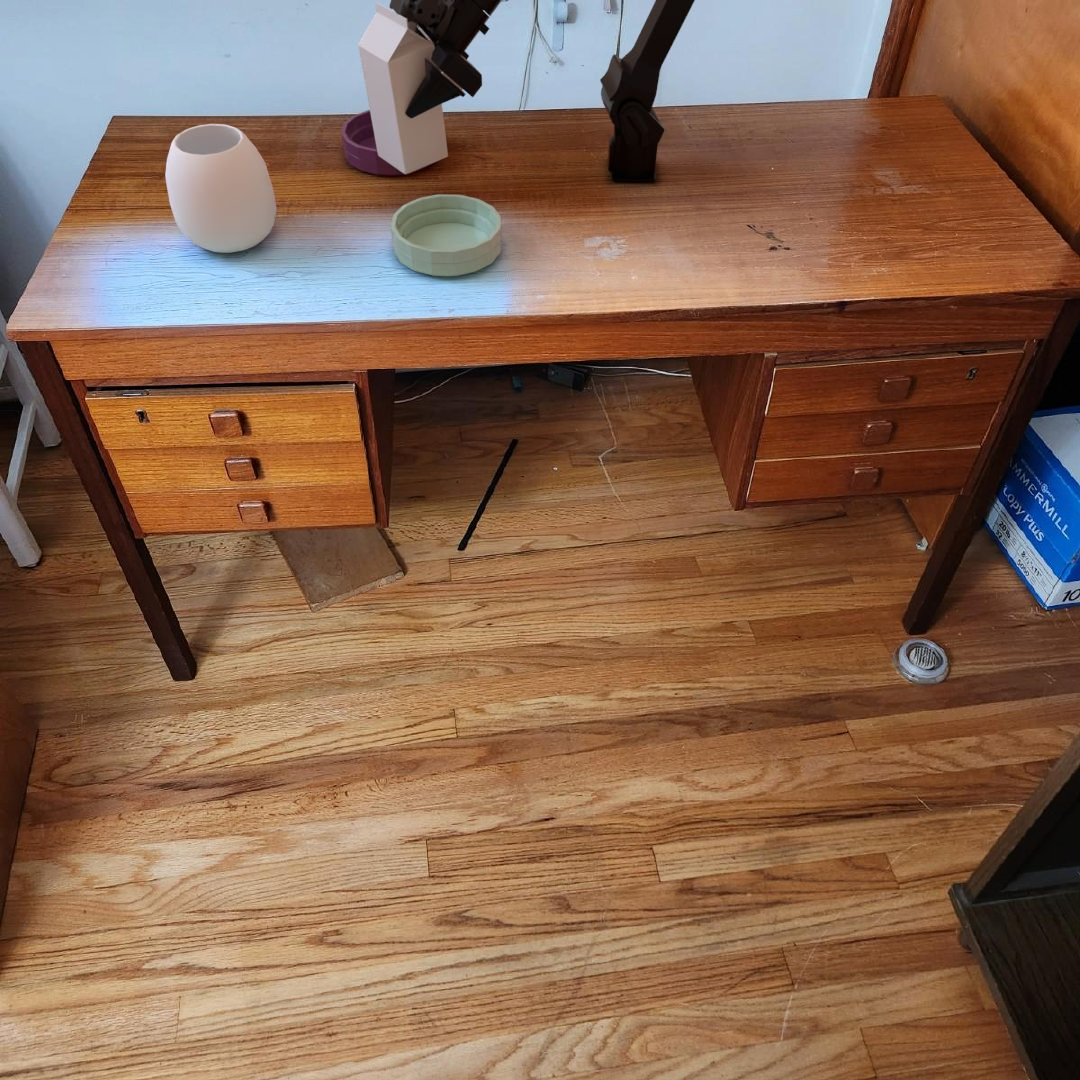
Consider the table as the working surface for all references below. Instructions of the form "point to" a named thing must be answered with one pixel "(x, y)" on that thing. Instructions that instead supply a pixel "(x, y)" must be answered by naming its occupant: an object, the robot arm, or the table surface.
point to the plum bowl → (364, 146)
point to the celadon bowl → (446, 234)
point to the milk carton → (400, 92)
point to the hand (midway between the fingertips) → (397, 103)
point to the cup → (219, 188)
